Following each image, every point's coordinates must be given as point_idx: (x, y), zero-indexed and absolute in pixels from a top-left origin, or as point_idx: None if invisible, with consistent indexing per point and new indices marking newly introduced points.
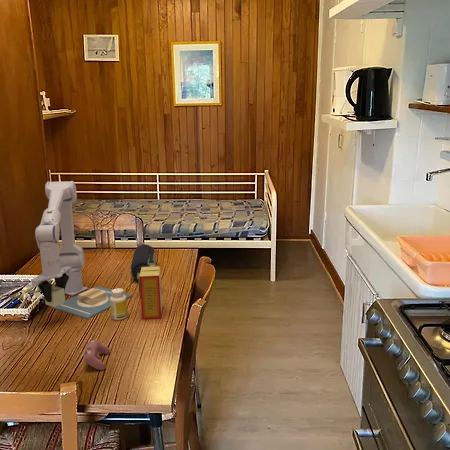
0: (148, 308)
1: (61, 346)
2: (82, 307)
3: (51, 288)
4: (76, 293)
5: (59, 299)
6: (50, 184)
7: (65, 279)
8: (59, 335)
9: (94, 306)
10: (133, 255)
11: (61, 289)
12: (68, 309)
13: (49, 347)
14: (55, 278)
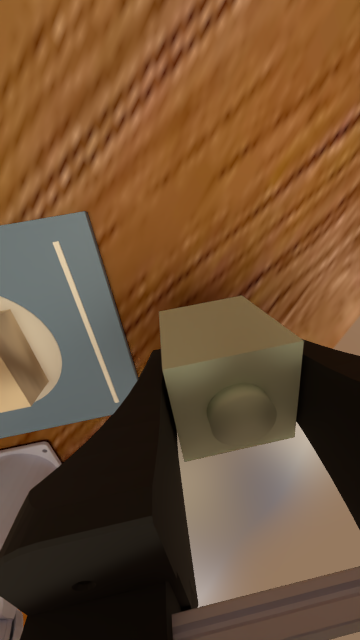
0: None
1: (330, 37)
2: (57, 329)
3: (355, 379)
4: (27, 445)
5: (208, 317)
6: None
7: (121, 475)
8: (259, 171)
9: (3, 297)
10: None
11: (194, 364)
12: (112, 352)
13: (357, 92)
14: (189, 556)
